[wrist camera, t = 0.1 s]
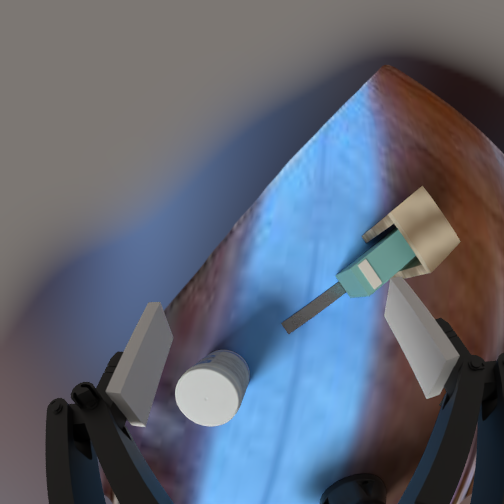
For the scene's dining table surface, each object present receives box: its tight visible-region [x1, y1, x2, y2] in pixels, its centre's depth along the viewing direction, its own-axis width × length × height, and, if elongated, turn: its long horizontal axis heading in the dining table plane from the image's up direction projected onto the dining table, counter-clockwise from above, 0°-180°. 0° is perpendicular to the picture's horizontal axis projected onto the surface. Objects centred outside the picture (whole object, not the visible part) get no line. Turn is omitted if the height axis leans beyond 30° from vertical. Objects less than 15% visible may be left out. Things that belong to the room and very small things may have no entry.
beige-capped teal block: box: [336, 227, 416, 298], centre depth 44 cm, size 5×19×11 cm, turn 125°
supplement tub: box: [175, 350, 250, 426], centre depth 42 cm, size 10×10×15 cm
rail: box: [281, 282, 346, 334], centre depth 50 cm, size 2×32×1 cm, turn 125°
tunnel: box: [362, 186, 460, 279], centre depth 43 cm, size 11×8×15 cm
